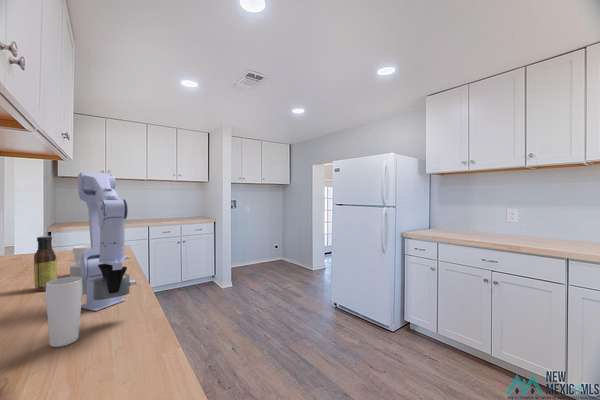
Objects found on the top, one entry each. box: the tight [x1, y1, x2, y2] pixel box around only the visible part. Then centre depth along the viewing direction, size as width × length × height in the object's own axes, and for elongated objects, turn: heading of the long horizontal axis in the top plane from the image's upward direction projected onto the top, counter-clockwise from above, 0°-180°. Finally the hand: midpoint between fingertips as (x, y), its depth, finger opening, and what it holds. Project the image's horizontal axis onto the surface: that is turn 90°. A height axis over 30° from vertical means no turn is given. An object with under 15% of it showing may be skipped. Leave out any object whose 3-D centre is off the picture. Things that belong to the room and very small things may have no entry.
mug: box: [69, 262, 87, 295], centre depth 101 cm, size 11×10×10 cm
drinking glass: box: [45, 276, 84, 348], centre depth 66 cm, size 7×7×15 cm
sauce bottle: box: [33, 235, 58, 292], centre depth 102 cm, size 6×6×20 cm
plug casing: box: [93, 273, 137, 300], centre depth 77 cm, size 10×4×5 cm, turn 134°
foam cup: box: [72, 243, 91, 264], centre depth 120 cm, size 10×9×13 cm
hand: (112, 290), depth 76 cm, fingers closed on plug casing, 4 cm apart
